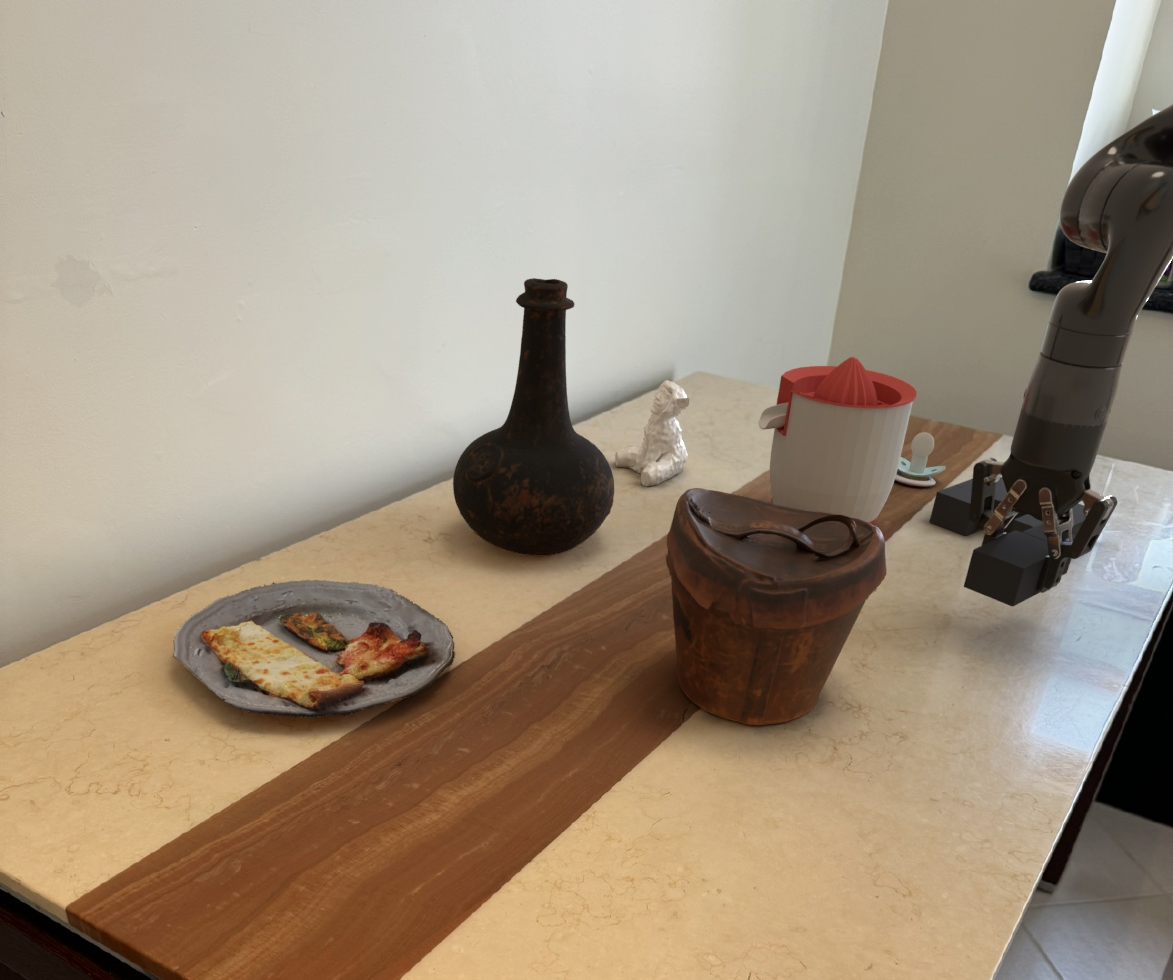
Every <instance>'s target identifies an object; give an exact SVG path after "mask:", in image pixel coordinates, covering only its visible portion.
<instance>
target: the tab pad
mask: <svg viewBox="0 0 1173 980" xmlns="http://www.w3.org/2000/svg"><path fill="white" fill-rule="evenodd" d="M1075 537H1076V536H1075V535H1072V541H1073V540H1074V538H1075ZM1048 555H1049V554H1048V543H1047V536H1046V535H1045V534H1044V530H1043V524H1039V525H1037V526H1035V527H1033V528H1030V529H1028V530H1026V531H1024V532H1019V531H1013V532H1011V533H1009V534H1007V535H1005V536H1002V537H1000V538H998V539H996V540H993V541H991V542H989V543H987V544H985V545H982V544H981V545H980V546H978V547H976V548H974V549H973V550H972V553H971V557H970V560H969V565H968V569H967V571H966V577H965V579H964V583H963V588H966V589H968V590H970V591H973V592H975V593H978V594H980V595H982V596H985V597H988V598H990V599H993V600H995V601H998V602H1000V603H1003V604H1005V605H1007V606H1010V607H1011V608H1012V607H1013V608H1014V607H1015V606H1017V605H1019V604H1021V603H1022V602H1023V603H1024V602H1025V601H1027V600H1028V599H1031V598H1032V597H1035V596H1036V595H1038V594H1040V593H1041V592H1039V591H1036V587H1037V583H1038V580H1039V577H1040V574H1041V570H1042V567H1043V564H1044V561H1045V557H1046V556H1048ZM1071 561H1072V558H1067V561H1066V564H1065V567H1064V571H1063V574H1062V576H1064V575H1066V574H1067V573H1068V571H1069V567H1070V564H1071Z"/></svg>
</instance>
